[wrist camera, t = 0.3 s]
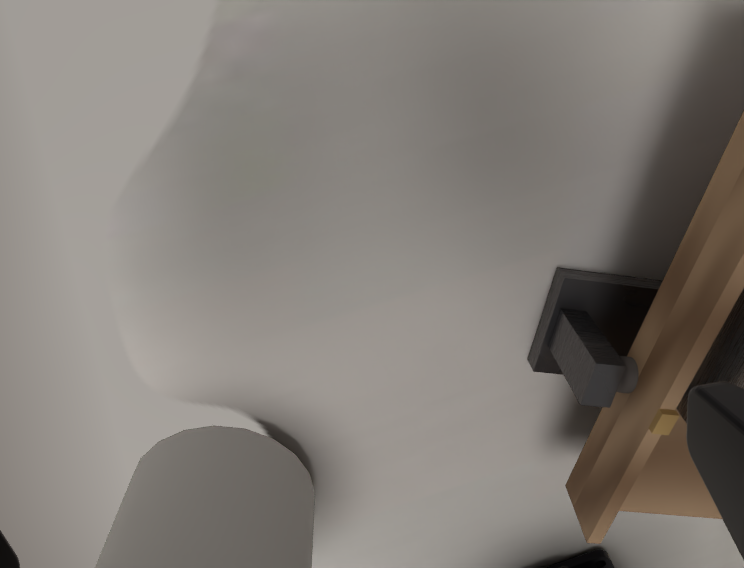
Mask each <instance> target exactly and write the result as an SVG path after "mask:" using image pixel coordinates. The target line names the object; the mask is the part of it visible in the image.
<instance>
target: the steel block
mask: <svg viewBox="0 0 744 568" xmlns="http://www.w3.org/2000/svg"><path fill="white" fill-rule="evenodd" d="M719 381H726V382H730V383H733V384H735V385H737V386H740V387H742V388H744V288H743V290H742V292H741V294H740V296H739V297H738V299H737V301H736V303H735V304H734V306H733V308H732V310H731V312H730V313H729V315H728V317H727V319H726V321H725V322H724V324H723V326H722V328H721V329H720V331H719V333H718V335H717V337H716V338H715V340H714V342H713V344H712V345H711V347H710V349H709V351H708V353H707V354H706V356H705V358H704V360H703V362H702V363H701V365H700V367H699V369H698V370H697V372H696V374H695V376H694V378H693V379H692V381H691V383H690V385H689V387H688V388H687V390H686V392H685V394H684V395H683V397H682V399H681V401H680V403H679V404H678V406H677V408H676V409H677V410H678V412H679V413H680V415H681V416H682V418H683V419H684V421H685V422H686V423H687V404H688V394H689V391H690V390H691V389H692V388H693V387H694V386H697V385H703V384H708V383H714V382H719Z"/></svg>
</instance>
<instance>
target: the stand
mask: <svg viewBox="0 0 744 568" xmlns="http://www.w3.org/2000/svg"><path fill="white" fill-rule="evenodd" d="M661 284H662V281H659V280H651V279H643V278H635V277H627V276H619V275H610V274H602V273H594V272H586V271H578V270H570V269H562V268H557V270H556V273H555V276H554V279H553V282H552V285H551V289H550V292H549V295H548V298H547V301H546V304H545V307H544V310H543V313H542V317H541V320H540V323H539V326H538V329H537V332H536V335H535V338H534V341H533V345H532V348H531V351H530V354H529V357H528V361H529V363H530V365H531V367H532V369H533V371H534V372H544V373H553V374H563V375H564V376H565V378H566V380H567V382H568V383H569V385H570V387H571V389H572V391H573V392H574V394H575V396H576V398H577V400H578V401H579V403H580V405H587V406H597V407H607V408H610V406H611V404H612V402H613V399H614V397H615V394H616V392H617V389H618V387H619V384H620V382H621V380H622V377H623V375H624V372H625V370H626V367H627V366H626V365H625V364H624V362H623V361H622V360H621V358H620V357H619V356H627V355H628V353H629V351H630V349H631V347H632V344H633V342H634V340H635V338H636V336H637V334H638V332H639V330H640V328H641V326H642V323H643V321H644V319H645V317H646V315H647V313H648V311H649V309H650V307H651V305H652V302H653V300H654V298H655V296H656V294H657V292H658V290H659V288H660V286H661Z"/></svg>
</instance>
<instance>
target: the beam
mask: <svg viewBox="0 0 744 568" xmlns="http://www.w3.org/2000/svg"><path fill="white" fill-rule="evenodd" d="M743 288H744V111H743V113H742V116H741V118H740V120H739V122H738V124H737V126H736V128H735V130H734V132H733V134H732V137H731V139H730V141H729V143H728V145H727V147H726V149H725V151H724V153H723V155H722V158H721V160H720V162H719V164H718V166H717V168H716V170H715V172H714V174H713V176H712V179H711V181H710V183H709V185H708V187H707V189H706V191H705V193H704V195H703V197H702V200H701V202H700V204H699V206H698V208H697V210H696V212H695V214H694V216H693V218H692V221H691V223H690V225H689V227H688V229H687V231H686V233H685V235H684V237H683V239H682V242H681V244H680V246H679V248H678V250H677V252H676V254H675V256H674V258H673V260H672V263H671V265H670V267H669V269H668V271H667V273H666V275H665V277H664V279H663V281H662V284H661V286H660V288H659V290H658V292H657V294H656V296H655V298H654V300H653V302H652V305H651V307H650V309H649V311H648V313H647V315H646V317H645V319H644V321H643V323H642V326H641V328H640V330H639V332H638V334H637V336H636V338H635V340H634V342H633V344H632V347H631V349H630V351H629V353H628V355H627V356H619V357H620V358H621V360H622V361H623V362H624V364H625V365H626V366H627V367H626V370H625V372H624V375H623V377H622V380H621V382H620V384H619V387H618V389H617V392H616V394H615V397H614V399H613V402H612V404H611V406H610V408H607V407H602V410H601V412H600V414H599V416H598V418H597V420H596V422H595V424H594V426H593V428H592V431H591V433H590V435H589V437H588V439H587V441H586V443H585V445H584V447H583V449H582V452H581V454H580V456H579V458H578V460H577V462H576V464H575V466H574V468H573V470H572V473H571V475H570V477H569V479H568V481H567V483H566V485H565V486H566V488H567V491H568V494H569V496H570V499H571V502H572V504H573V507H574V510H575V512H576V515H577V518H578V521H579V523H580V526H581V529H582V531H583V534H584V537H585V539H586V542H587V543H597V544H600V543H601V542H602V540H603V538H604V536H605V535H606V533H607V531H608V529H609V527H610V526H611V524H612V522H613V520H614V518H615V517H616V515H617V513H618V511H629V512H641V513H654V514H666V515H679V516H691V517H704V518H717V519H722V517H721V515H720V513H719V511H718V509H717V507H716V505H715V503H714V501H713V499H712V497H711V495H710V493H709V491H708V489H707V488H706V486H705V484H704V482H703V480H702V478H701V476H700V474H699V472H698V470H697V468H696V466H695V464H694V462H693V460H692V458H691V456H690V453H689V450H688V446H687V440H686V432H687V423H686V422H685V421H684V419H683V418H682V416H681V415H680V413H679V412H678V410H677V409H676V408H677V406H678V404H679V403H680V401H681V399H682V397H683V395H684V394H685V392H686V390H687V388H688V387H689V385H690V383H691V381H692V379H693V378H694V376H695V374H696V372H697V370H698V369H699V367H700V365H701V363H702V362H703V360H704V358H705V356H706V354H707V353H708V351H709V349H710V347H711V345H712V344H713V342H714V340H715V338H716V337H717V335H718V333H719V331H720V329H721V328H722V326H723V324H724V322H725V321H726V319H727V317H728V315H729V313H730V312H731V310H732V308H733V306H734V304H735V303H736V301H737V299H738V297H739V296H740V294H741V292H742V290H743Z"/></svg>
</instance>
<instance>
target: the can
mask: <svg viewBox="0 0 744 568" xmlns="http://www.w3.org/2000/svg"><path fill="white" fill-rule="evenodd" d="M314 505H315V492H314V489H313V485H312V481H311V477H310V474H309V472H308V471H307V469H306V468H305V467H304V465H303V464H302V463H301V461H300V460H299V459H298V457H297V456H296V455H295V454H294V453H293V452H291V451H290V450H288V449H287V448H285V447H284V446H283V445H281V444H280V443H278V442H277V441H275V440H274V439H272V438H270V437H267V436H264V435H261V434H258V433H256V432H253V431H250V430H247V429H242V428H232V427H222V426H209V427H203V428H197V429H189V430H184V431H181V432H179V433H177V434H175V435H173V436H170V437H168V438H166V439H164V440H161V441H159V442H158V443H157V444H156V445H155V446H154V447H152V448H151V449H150V450H149V451H148V452H147V453H146V454H145V455H144V456H143V457H142V458H141V459H140V461H139V464H138V466H137V468H136V470H135V472H134V474H133V476H132V479H131V481H130V483H129V486H128V488H127V491H126V493H125V496H124V498H123V501H122V503H121V505H120V508H119V511H118V513H117V515H116V518H115V520H114V522H113V525H112V528H111V530H110V532H109V535H108V537H107V539H106V542H105V545H104V547H103V549H102V552H101V554H100V557H99V559H98V562H97V564H96V567H95V568H312V548H313V527H314Z"/></svg>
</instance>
